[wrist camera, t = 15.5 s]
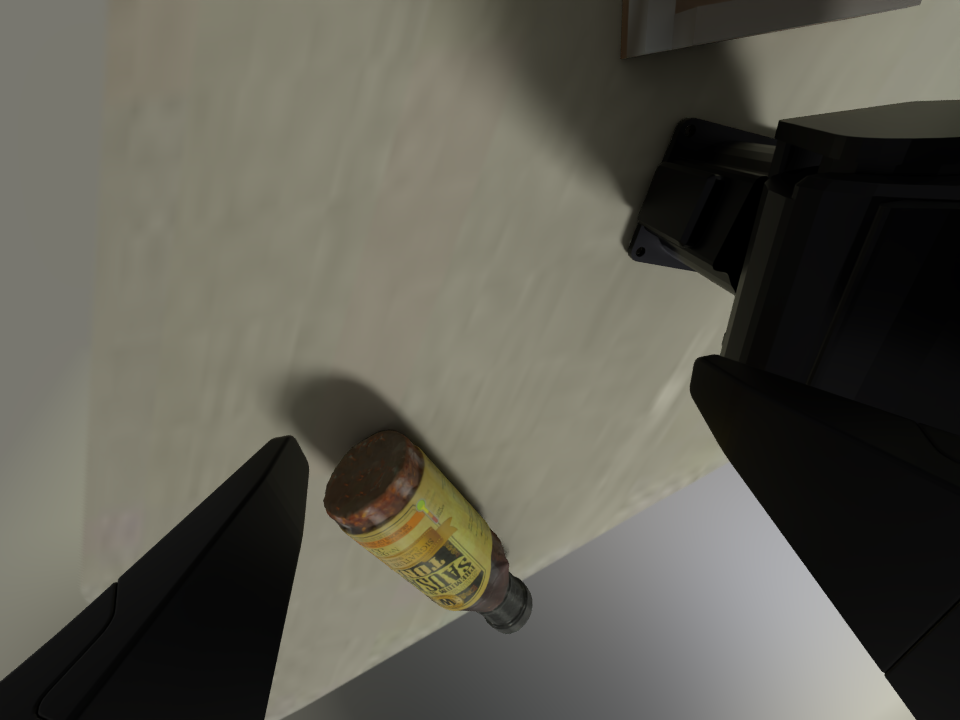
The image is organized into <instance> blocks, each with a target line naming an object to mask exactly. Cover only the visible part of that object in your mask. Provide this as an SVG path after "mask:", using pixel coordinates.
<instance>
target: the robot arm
mask: <svg viewBox="0 0 960 720" xmlns="http://www.w3.org/2000/svg"><path fill="white" fill-rule="evenodd" d="M689 125H690V126H691V131H690V133H689V135H687V136H685V129H686V128H687V126H689ZM638 220H639V223H638V225H637V228H636V230H635V233H634V235H633V238H632V240H631V243H630V245H629V248H628V255H629V256H630V258H632V259H633V260H635V261H638V262H643V263H649V264H655V265H661V266H666V267H672V268H678V269H684V270H689V271H695V272H698V273H700V274H701V275H703V276H704V277H706V278H708V279H709V280H711V281H712V282H714V283H716V284H717V285H719V286H720V287H722V288H724V289H725V290H727V291H728V292H730V293H732V294H733V295H735V299H734V303H733V307H732V310H731V314H730V318H729V322H728V326H727V330H726V333H725V334H724V337H723V341H722V349H721V353H720V355H715V354H714V355H708V356H703V357H699V358H697V359H696V360H695V362H694V366H693V372H692V377H691V382H690V393H691V396H692V398H693V400H694V402H695V404H696V405H697V407H698V409H699V411H700V412H701V414H702V416H703V418H704V419H705V421H706V423H707V425H708V426H709V428H710V430H711V432H712V434H713V435H714V437H715V439H716V441H717V442H718V444H719V446H720V447H721V449H722V451H723V452H724V454H725V455H726V457H727V458H728V460H729V461H730V462H731V464H732V465H733V467H734V468H735V469H736V471H737V472H738V473H739V475H740V476H741V478H742V479H743V480H744V482H745V483H746V485H747V486H748V487H749V489H750V490H751V491H752V493H753V494H754V496H755V497H756V498H757V500H758V501H759V503H760V504H761V505H762V507H763V508H764V509H765V511H766V512H767V514H768V515H769V516H770V518H771V519H772V520H773V522H774V523H775V524H776V526H777V527H778V529H779V530H780V531H781V533H782V534H783V536H784V537H785V538H786V540H787V541H788V543H789V544H790V545H791V547H792V548H793V550H794V551H795V552H796V554H797V555H798V556H799V558H800V559H801V561H802V562H803V563H804V565H805V566H806V567H807V569H808V570H809V572H810V573H811V574H812V576H813V577H814V578H815V580H816V581H817V583H818V584H819V585H820V587H821V588H822V590H823V591H824V592H825V594H826V595H827V597H828V598H829V599H830V601H831V602H832V603H833V605H834V606H835V607H836V609H837V610H838V612H839V613H840V614H841V616H842V617H843V619H844V620H845V621H846V623H847V624H848V625H849V627H850V628H851V630H852V631H853V632H854V634H855V635H856V637H857V638H858V639H859V641H860V642H861V644H862V645H863V646H864V648H865V649H866V650H867V652H868V653H869V655H870V656H871V657H872V659H873V660H874V661H875V663H876V664H877V666H878V667H879V668H880V670H881V671H882V672H884V673H885V677H886V679H887V680H888V681H889V683H890V684H891V686H892V687H893V688H894V690H895V691H896V692H897V694H898V695H899V697H900V698H901V699H902V701H903V702H904V703H905V705H906V706H907V708H908V709H909V710H910V712H911V713H912V715H913V716H914V717H915V719H916V720H960V100H941V101H914V102H905V103H897V104H890V105H883V106H876V107H869V108H861V109H854V110H847V111H840V112H833V113H825V114H818V115H811V116H804V117H796V118H789V119H782V120H779V122H778V126H777V130H776V134H775V139H773V138H769V137H765V136H762V135H758V134H754V133H750V132H746V131H743V130H739V129H735V128H731V127H728V126H724V125H720V124H716V123H712V122H709V121H705V120H701V119H697V118H685V119H683V120H681V121H680V122H679V123H678V125H677V127H676V128H675V131H674V134H673V136H672V139H671V141H670V144H669V146H668V149H667V151H666V154H665V156H664V159H663V162H662V163H661V164H660V165H659V166H658V167H657V170H656V172H655V175H654V177H653V180H652V183H651V185H650V188H649V190H648V193H647V195H646V198H645V201H644V203H643V206H642V208H641V211H640V213H639V216H638ZM640 247H642V250H641V252H640V253H639V254H636V251H637V249H638V248H640ZM308 477H309V465H308V461H307V459H306V457H305V455H304V453H303V451H302V450H301V448H300V446H299V444H298V442H297V440H296V439H295V438H294V437H293V436H291V435H287V436H282V437H276V438H273V439H271V440H270V441H269V442H268V443H266V444H265V445H264V446H263V447H262V448H261V449H260V450H259V451H258V452H257V453H256V454H254V455H253V456H252V457H251V458H250V459H249V460H248V461H247V462H246V463H245V464H243V465H242V466H241V467H240V468H239V469H238V470H237V471H236V472H235V473H234V474H233V475H231V476H230V477H229V478H228V479H227V480H226V481H225V482H224V483H223V484H222V485H220V486H219V487H218V488H217V489H216V490H215V491H214V492H213V493H212V494H211V495H209V496H208V497H207V498H206V499H205V500H204V501H203V502H202V503H201V504H200V505H199V506H197V507H196V508H195V509H194V510H193V511H192V512H191V513H190V514H189V515H188V516H186V517H185V518H184V519H183V520H182V521H181V522H180V523H179V524H178V525H177V526H175V527H174V528H173V529H172V530H171V531H170V532H169V533H168V534H167V535H166V536H165V537H163V538H162V539H161V540H160V541H159V542H158V543H157V544H156V545H155V546H154V547H152V548H151V549H150V550H149V551H148V552H147V553H146V554H145V555H144V556H143V557H141V558H140V559H139V560H138V561H137V562H136V563H135V564H134V565H133V566H132V567H131V568H129V569H128V570H127V571H126V572H125V573H124V574H123V575H122V576H121V577H120V578H119V579H118V582H115V583H113V584H112V585H111V586H110V587H108V588H107V589H106V590H105V591H104V592H103V593H102V594H101V595H100V596H99V597H98V598H96V599H95V600H94V601H93V602H92V603H91V604H90V605H89V606H88V607H86V608H85V609H84V610H83V611H82V612H81V613H80V614H79V615H77V616H76V617H75V618H74V619H73V620H72V621H71V622H70V623H68V624H67V625H66V626H65V627H64V628H63V629H62V630H61V631H60V632H58V633H57V634H56V635H55V636H54V637H53V638H52V639H50V640H49V641H48V642H47V643H45V644H44V645H43V646H42V647H41V648H40V649H38V650H37V651H36V652H35V653H34V654H32V656H30V657H29V658H28V659H27V660H25V661H24V662H23V663H22V664H21V665H20V666H18V667H17V668H16V669H15V670H14V671H12V672H11V673H10V674H9V675H7V676H6V677H5V678H4V679H3V680H2V681H0V720H264V718H265V714H266V709H267V704H268V699H269V695H270V690H271V685H272V681H273V676H274V671H275V666H276V662H277V657H278V652H279V647H280V643H281V638H282V633H283V628H284V624H285V619H286V614H287V609H288V605H289V600H290V595H291V591H292V586H293V581H294V576H295V572H296V567H297V562H298V557H299V553H300V548H301V543H302V537H303V530H304V520H305V510H306V499H307V488H308Z"/></svg>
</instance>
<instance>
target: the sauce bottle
mask: <svg viewBox="0 0 960 720" xmlns="http://www.w3.org/2000/svg"><path fill="white" fill-rule="evenodd" d="M323 502H324V507H325V508H326V511H327V514H328V515H329V516H330V517H331V518H332V519H334V520H335V521H336V522H337V523H338V525H339V526H340V528H341V529H342V530H343V531H344V532H345V533H346V534H347V535H349V536H350V537H351V538H352V539H354V540H355V541H356V542H358V543H359V544H360V545H361V546H363V547H364V548H365V549H367V550H368V551H369V552H370V553H372V554H373V555H374V556H376V557H377V558H378V559H380V560H381V561H382V562H384V563H385V564H386V565H388V566H389V567H390V568H391V569H392V570H394V571H395V572H397V573H398V574H400V575H401V576H402V577H403V578H404V579H406V580H407V581H408V582H410V583H411V584H412V585H414V586H415V587H416V588H417V589H419V590H420V591H421V592H422V593H424V594H425V595H426V596H427V597H429V598H430V599H431V600H432V601H434V602H435V603H437V604H438V605H439V606H441V607H443V608H445V609H447V610H452V611H476V612H477V613H480V614H481V615H483V616H484V617H485V619H486V621H487V623H489V624H490V625H491V626H492V627H493V628H495V629H496V630H498V631H500V632H502V633H505V634H511V633H513V632H516V631H518V630H519V629H520V628H522V627H523V625H525V623H526V622H527V620H528V619H529V617H530V614H531V611H532V597H531V593H530V592H529V590H528V588H527V586H526V585H525V584H524V583H523V582H522V581H521V580H520V579H519V578H517V577H515V576H513V575H512V574H511V573H510V572H509V562H508V560H507V559H506V557H505V553H504V550H503V547H502V545H501V541H500V539H499V538H498V537H497V535H496V534H495V533H494V532H493V531H492V530H491V529H490V528H489V526H488V524H487V523H486V521H485V520H484V519H483V518H482V517H481V516H480V515H479V514H478V512H477V511H476V510H475V509H474V508H473V507H472V506H471V505H470V504H469V503H468V501H467V500H466V499H465V498H464V497H463V496H462V495H461V494H460V493H459V491H458V490H457V489H456V488H455V487H454V486H453V485H452V484H451V483H450V482H449V480H448V479H447V478H446V477H445V476H444V475H443V474H442V473H441V471H440V470H439V469H438V468H437V467H436V466H435V465H434V464H433V463H432V462H431V460H430V459H429V458H428V457H427V456H426V455H425V454H424V452H423V451H422V450H421V449H420V448H419V447H418V446H416V445H413V444H412V443H411V441H410V440H409V439H408V438H407V437H405V436H404V435H402V434H400V433H398V432H396V431H391V430H387V431H381V432H378V433H376V434H374V435H372V436H371V437H369V438H367V439H365V440H364V441H362V442H360V443H359V444H357V445H356V446H354V447H352V449H351V450H350V451H349V452H348V453H347V454H346V455H345V456H344V457H343V459H342V460H341V462H340V463H339V464H338V466H337V467H336V468H335V470H334V472H333V473H332V475H331V478H330V480H329V482H328V484H327V487H326V492H325V498H324V500H323Z"/></svg>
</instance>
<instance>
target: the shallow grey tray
mask: <svg viewBox="0 0 960 720" xmlns="http://www.w3.org/2000/svg"><path fill="white" fill-rule="evenodd" d="M921 1H922V0H623V3H622V31H621V59H625V58H630V57H636V56H642V55H647V54H653V53H659V52H664V51H670V50H675V49H681V48H687V47H692V46H698V45H704V44H709V43H715V42H720V41H726V40H732V39H737V38H743V37H749V36H754V35H760V34H765V33H771V32H777V31H782V30H788V29H794V28H799V27H805V26H810V25H816V24H822V23H827V22H833V21H838V20H844V19H850V18H855V17H861V16H866V15H871V14H876V13H882V12H887V11H892V10H897V9H902V8H907V7H911V6H916V5H920V3H921Z"/></svg>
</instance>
